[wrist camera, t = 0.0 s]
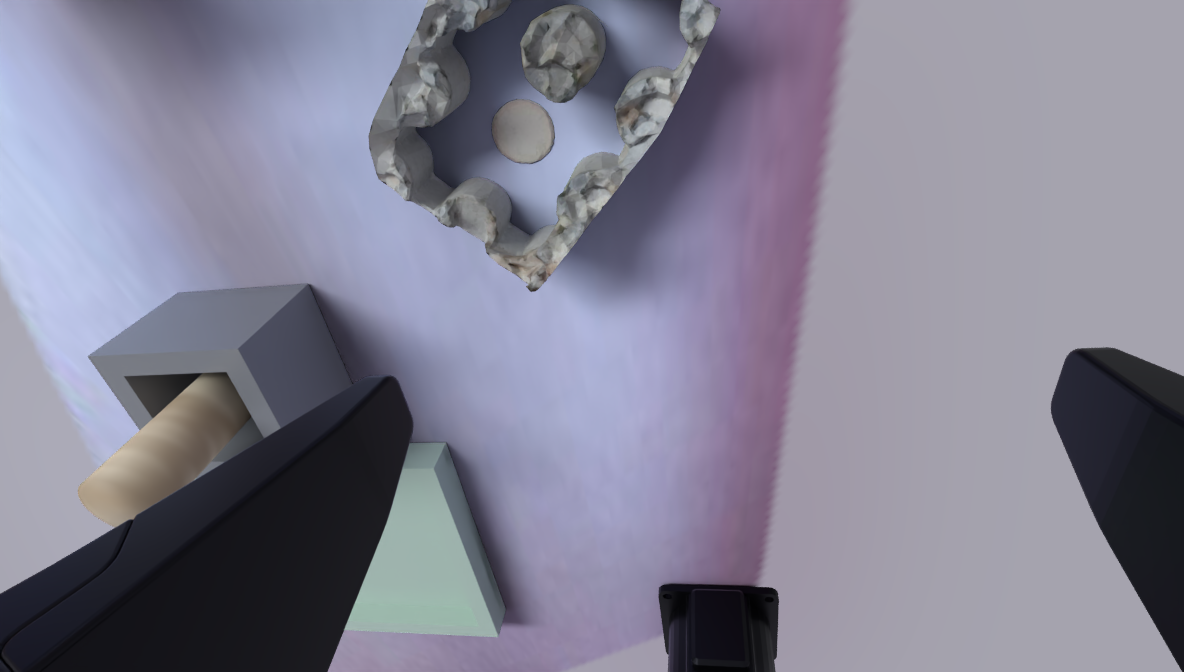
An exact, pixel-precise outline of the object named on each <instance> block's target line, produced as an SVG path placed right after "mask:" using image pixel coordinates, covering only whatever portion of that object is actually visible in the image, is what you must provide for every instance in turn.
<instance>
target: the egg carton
mask: <svg viewBox="0 0 1184 672" xmlns="http://www.w3.org/2000/svg"><path fill="white" fill-rule="evenodd" d="M511 2H512V0H428V2H427V4H426V6H425V9H424V11H423V14H422V17H421V19H420V22H419V24H418V27H417V29H416V31H415V33H414V35H413V37H412V39H411V41H410V43H409V45H408V47H407V49H406V51H405V54H404V56H403V59H402V61H401V64H400V67H399V69H398V70H397V72H396V74H395V76H394V78H393V79H392V81H391V83H390V85H389V87H388V90H387V92H386V94H385V96H384V98H383V100H382V102H381V104H380V106H379V108H378V110H377V113H376V115H375V117H374V119H373V122H372V126H371V129H370V133H369V148H370V152H371V156H372V159H373V163H374V166H375V170H376V173H377V176H378V178H379V180H381V181H382V182H383V183H385V184H386V185H387V186H389V187H391V188H392V189H393V190H394V191H396V192H397V193H398V194H399V195H400V196H401V197H402V198H403V199H404V200H406V201H412V202H414V203H416V204H418V205H420V206H421V207H423V208H424V209H426V210H428V211H429V212H431V213H432V214H433V215H434V216H435V217H437V219H438V221H439V222H440V223H442V224H443V225H445V226H447V227H455V226H459V227H461V228H462V229H464V230H465V231H467V232H468V233H470V234H471V235H473V236H475V237H476V238H478V239H480V240H481V241H483V242H485V248H486V253H487V254H488V255H489V256H490V257H491V258H492V259H493V260H494V261H495V262H496V263H498V264H499V265H500V266H502V267H504V268H505V269H507V270H508V271H510V272H512V273H514V274H516V275H517V276H518V277H519V278H521V279H522V280H523V281H524V282H526V283H527V284H529V285H528V286H526V287H527V288H528V289H529V290H530V291H531V292H532V291H536V290H538V289H539V288H540V287H541V286H542V284H543V283H544V282H545V281H546V280H547V278H548V277H549V276H550V275H551V274H552V272H553V271H554V270H555V269H556V267H557V266H558V265H559V263H560V262H561V261H562V259H563V258H564V257H565V256H566V255H567V253H568V252H569V251H570V250H571V248H572V247H573V246H574V244H575V243H576V242H577V241H578V239H579V238H580V236H581V235H582V234H583V232H584V231H585V230H586V228H587V227H588V225H589V224H590V223H591V221H592V220H593V219H594V218H595V216H596V215H597V214H598V213H599V212H600V210H601V209H602V208H603V206H604V205H605V204H606V203H607V201H608V200H609V199H610V198H611V196H612V195H613V194H614V193H615V191H616V190H617V189H618V188H619V186H620V185H621V184H622V182H623V180H624V179H625V177H626V176H627V175H628V174H629V172H630V171H631V170H632V169H633V168H634V166H635V165H636V164H637V163H638V162H639V160H640V159H641V158H642V156H643V155H644V154H645V152H646V151H647V150H648V149H649V147H650V146H651V145H652V143H653V142H654V141H655V139H656V138H657V137H658V135H659V134H660V133H661V131H662V129H663V127H664V125H665V123H666V121H667V119H668V117H669V115H670V113H671V112H672V110H673V108H674V106H675V104H676V102H677V100H678V98H679V96H680V94H681V92H682V90H683V88H684V86H685V84H686V82H687V80H688V78H689V76H690V74H691V72H692V69H693V67H694V65H695V63H696V61H697V60H698V58H699V56H700V54H701V52H702V50H703V48H704V47H705V45H706V43H707V41H708V37H709V34H710V33H711V31H712V29H713V26H714V24H715V22H716V20H717V18H718V16H719V14H720V8H718V7H715V6H714V5H712V4H711V3H710V2H709V1H708V0H682V1H681V7H680V13H679V17H680V31H681V33H682V35H683V37H684V39H685V40H686V42H687V43H688V45H689V46H688V48H687V51H686V53H685V56H684V58H683V60H682V62H681V63H680V64H679V65H678V67H677V68H676V69H675V70H671V69H669V68H665V67H662V66H659V67H649V68H646V69H642V70H640V71H639V72H638V73H637V74H635V75H634V76H633V77H632V78H631V79H630V80H629V81H628V83H627V85H626V86H625V88H624V90H623V92H622V94H621V97H620V98H619V99H618V101H617V103H616V105H615V107H614V109H615V112H616V123H617V127H618V131H619V134H620V136H621V138H622V139H623V141H624V142H625V145H624V148H623V150H622V152H621V153H620V155H619V156H618V155H615V154H613V153H607V152H599V153H594V154H591V155H589V156H587V157H585V158H583V159H582V160H581V161H580V162H579V163H578V164H577V166H576V167H575V169H574V171H573V173H572V175H571V177H570V179H569V181H568V183H567V185H566V187H565V188H564V192H563V193H561V194H560V195H559V196H558V198H557V211H556V213H557V216H558V219H559V221H558V222H557V224H556V225H548V226H545V227H543V228H541V229H540V230H538V231H536V232H535V233H534V234H533V235H528V234H526V233H525V232H523V231H522V230H520V229H519V228H517V227H516V226H514V225H513V224H512V223H510V218H511V212H512V205H511V201H510V199H509V197H508V194H507V193H506V191H505V190H504V189H503V188H502V187H501V186H500V185H498V184H497V183H495V182H494V181H491V180H489V179H485V178H480V177H474V178H470V179H467V180H465V181H464V182H462V183H461V184H460V185H459V186H458V187H457V188H456V189H455V188H451V187H449V186H448V185H447V184H446V183H445V182H443V181H442V180H440V179H439V178H438V177H436V176H435V174H434V172H433V163H434V161H433V156H432V152H431V149H430V147H429V146H428V144H427V143H426V141H425V140H424V139H423V138H422V137H420V136H419V134H418V133H417V132H416V130H415V129H416V127H423V128H424V127H428V126H431V127H433V126H434V125H435V124H437V123H438V122H440V121H441V120H442V119H444V118H445V117H446V116H448V115H449V114H450V113H452V112H453V111H454V110H455V109H456V108H458V107H459V106H460V105H461V104H462V103H463V102H464V101H465V100H466V99H467V96H468V93H469V91H470V80H471V78H470V74H469V69H468V67H467V65H466V62H465V60H464V58H463V57H462V56H461V55H460V53H459V52H458V51H457V50H456V48H455V47H454V46H453V39H454V36H455V34H456V32H457V30H464V31H465V32H471V31H474V30H476V29H477V28H479V27H480V26H481V25H482V24H483V23H486V22H489V21H490V20H493V19H495V18H498V17H499V16H501V15H502V14H503V13H504V12H505V11H506V10H507V8H508V7H509V6H510V4H511ZM598 19H599V18H598ZM598 19H597V17H596V16H595V15H594V13H593V12H592V11H590V10H588V9H587V8H585V7H583V6H578V5H573V4H566V5H562V6H558V7H555V8H553V9H551V10H549V11H547V12H545V13H543V14H541V15H540V16H538V17H537V18H535V19H534V20H532V21H531V22H530V24H529V27H528V29H527V31H526V33H525V34H524V36H523V38H522V40H521V42H520V46H521V55H522V65H523V69H524V74H525V77H526V78H527V80H528V81H529V83H530V84H531V85H532V86H533V87H534V88H535V89H536V90H538V91H539V92H540V93H542V94H543V95H544V96H546V98H547V99H548V100H550V101H553V102H555V103H565V102H567V101H569V100H571V99H572V98H573V97H574V96H575V95H576V94H577V92H578V90H580V89H581V88H582V87H584V86H585V85H586V84H588V83H589V81H590V80H591V79H592V77H593V76H594V75H595V73H596V71H597V69H598V68H599V66H600V64H601V62H602V60H603V57H604V54H605V50H606V37H605V32H604V29H603V27H602V25H601V23H600V22H599V20H600V19H599V20H598ZM600 21H601V20H600ZM601 22H602V21H601ZM606 26H607V25H606ZM492 135H493V138H494V141H495V143H496V146H497V148H498V149H499V151H500V152H501V153H502V154H503V155H504V156H506V157H507V158H508V159H510V160H512V161H514V162H516V163H520V162H521V163H534V162H536V161H539V160H541V159H543V158H544V157H545V156H546V155H547V154H548V153H549V152H550V150H551V145H552V144H553V140H554V138H555V136H554V126H553V123H552V120H551V118H550V116H549V115H548V113H547V111H546V110H545V109H544V108H543V107H542V106H541V105H539V104H537V103H535V102H533V101H531V100H524V99H516V100H513V101H510V102H507V103H506V104H505V105H504V106H502V107H501V108H500V109H499V110H498V112H497V113H496V114H495V116H494V118H493V122H492Z"/></svg>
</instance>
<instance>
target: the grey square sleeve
mask: <svg viewBox="0 0 1184 672" xmlns="http://www.w3.org/2000/svg"><path fill="white" fill-rule="evenodd" d="M88 358H89V359H90V360H91V362H92V363H93V365H94V366H95V367H96V369H97V370H98V372H99V373H100V375H101V376H102V377H103V379H104V380H105V382H106V383H107V384H108V386H109V387H110V389H111V390H112V392H113V393H114V394H115V396H116V397H117V399H118V400H119V401H120V403H121V404H122V406H123V407H124V409H125V410H126V411H127V413H128V414H129V416H130V417H131V418H132V420H133V421H134V423H135V424H136V426H137V427H138V428H139V430H141V429H142V428H143V427H144V426H145V425H146V424H148V423H149V422H150V421H151V420H152V419H153V418H154V417H155V416H156V415H157V414H159V413H160V412H161V411H162V410H163V409H164V408H165V407H166V406H167V405H168V404H170V403H171V402H172V401H173V400H174V399H175V398H176V397H177V396H178V395H179V394H181V393H182V392H183V391H184V390H185V389H186V388H187V387H188V386H189V385H191V384H192V383H193V382H194V381H195V380H196V379H197V378H198V377H199V376H200V375H202V374H203V373H213V372H227V374H228V376H229V377H230V379H231V381H232V383H233V384H234V386H235V388H236V390H237V391H238V393H239V395H240V397H241V399H242V400H243V402H244V404H245V406H246V407H247V409H248V411H249V413H250V414H251V416H252V417H251V418H250V419H249V420H248V421H247V422H246V423H245V424H244V426H243V427H242V428H241V429H240V430H239V431H238V432H237V433H236V434H235V435H234V437H233V438H232V439H231V440H230V441H229V442H228V443H227V444H226V445H225V447H224V448H223V449H222V450H221V451H220V452H219V453H218V454H217V455H216V457H215V458H214V459H213V460H212V461H211V462H210V463H209V464H208V465H207V466H206V468H205V469H204V470H203V471H202V472H201V473H200V474H199V475H198V476H197V478H199V477H200V476H202V475H204V474H205V473H207V472H209V471H210V470H212V469H214V468H215V467H217V466H219V465H220V464H222V463H224V462H225V461H227V460H229V459H230V458H232V457H233V456H235V455H237V454H238V453H240V452H242V451H243V450H245V449H247V448H248V447H250V446H252V445H253V444H255V443H257V442H258V441H260V440H262V439H263V438H265V437H267V436H268V435H270V434H272V433H273V432H275V431H277V430H278V429H280V428H282V427H283V426H285V425H287V424H288V423H290V422H292V421H293V420H295V419H297V418H298V417H300V416H302V415H303V414H305V413H307V412H308V411H310V410H312V409H313V408H315V407H316V406H318V405H320V404H321V403H323V402H325V401H326V400H328V399H330V398H331V397H333V396H335V395H336V394H338V393H340V392H341V391H343V390H345V389H346V388H348V387H350V386H351V385H352V382H351V380H350V378H349V375H348V373H347V371H346V369H345V366H344V364H343V362H342V359H341V357H340V355H339V353H338V350H337V348H336V346H335V343H334V341H333V339H332V337H331V334H330V332H329V330H328V327H327V325H326V323H325V321H324V318H323V316H322V314H321V311H320V309H319V307H318V305H317V302H316V300H315V298H314V295H313V293H312V291H311V289H310V286H309V284H297V285H283V286H268V287H254V288H240V289H226V290H212V291H197V292H183V293H177V294H175V295H174V296H172V297H171V298H170V299H168V300H167V301H165V302H164V303H163V304H161V305H160V306H158V307H157V308H155V309H154V310H153V311H151V312H150V313H148V314H147V315H146V316H144V317H143V318H141V319H140V320H138V321H137V322H136V323H134V324H133V325H131V326H130V327H128V328H127V329H126V330H124V331H123V332H121V333H120V334H119V335H117V336H116V337H114V338H113V339H111V340H110V341H109V342H107V343H106V344H104V345H103V346H102V347H100V348H99V349H97V350H96V351H94V352H93V353H92V354H90V355H89V356H88ZM197 478H196V479H197Z"/></svg>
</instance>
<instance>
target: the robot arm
mask: <svg viewBox="0 0 1184 672" xmlns="http://www.w3.org/2000/svg"><path fill="white" fill-rule="evenodd" d="M1051 414H1052V418H1053V421H1054V424H1055V426H1056V428H1057V431H1058V433H1059V435H1060V438H1061V440H1062V442H1063V445H1064V447H1065V449H1066V452H1067V454H1068V456H1069V459H1070V461H1071V463H1072V466H1073V468H1074V470H1075V473H1076V475H1077V477H1078V480H1079V482H1080V484H1081V487H1082V489H1083V491H1084V494H1085V496H1086V498H1087V501H1088V503H1089V505H1090V508H1091V510H1092V512H1093V514H1094V516H1095V518H1096V521H1097V522H1098V525H1099V527H1100V529H1101V530H1102V532H1103V534H1104V536H1105V538H1106V540H1107V542H1108V543H1109V545H1110V547H1111V549H1112V550H1113V552H1114V554H1115V556H1116V557H1117V559H1118V561H1119V563H1120V564H1121V566H1122V568H1123V570H1124V571H1125V573H1126V575H1127V577H1128V578H1129V580H1130V582H1131V584H1132V585H1133V587H1134V589H1135V591H1136V592H1137V594H1138V596H1139V597H1140V599H1141V601H1142V603H1143V604H1144V606H1145V608H1146V610H1147V611H1148V613H1149V615H1150V617H1151V618H1152V620H1153V622H1154V623H1155V625H1156V627H1157V629H1158V630H1159V632H1160V634H1161V636H1162V637H1163V639H1164V641H1165V643H1166V644H1167V646H1168V648H1169V649H1170V651H1171V653H1172V655H1173V657H1174V658H1175V660H1176V662H1177V663H1178V665H1179V667H1180V669H1181V670H1182V672H1184V376H1182V375H1179V374H1177V373H1175V372H1172V371H1170V370H1167V369H1165V368H1162V367H1160V366H1157V365H1155V364H1152V363H1150V362H1147V361H1145V360H1143V359H1140V358H1138V357H1135V356H1133V355H1130V354H1128V353H1125V352H1123V351H1120V350H1118V349H1115V348H1108V347H1106V348H1081V349H1075V350H1073V351H1072V352H1070V353H1069V355H1068V356H1067V357H1066V359H1065V362H1064V365H1063V368H1062V371H1061V374H1060V377H1059V380H1058V383H1057V386H1056V389H1055V392H1054V395H1053V398H1052V402H1051ZM412 433H413V418H412V415H411V412H410V410H409V407H408V404H407V402H406V399H405V397H404V394H403V392H402V389H401V386H400V384H399V382H398V380H397V379H396V378H395V377H393V376H391V375H381V376H368V377H365V378H363V379H361V380H360V381H358V382H356V383H355V384H353V385H351V386H350V387H348V388H346V389H345V390H343V391H341V392H340V393H338V394H336V395H335V396H333V397H331V398H330V399H328V400H326V401H325V402H323V403H321V404H320V405H318V406H316V407H315V408H313V409H312V410H310V411H308V412H307V413H305V414H303V415H302V416H300V417H298V418H297V419H295V420H293V421H292V422H290V423H288V424H287V425H285V426H283V427H282V428H280V429H278V430H277V431H275V432H273V433H272V434H270V435H268V436H267V437H265V438H263V439H262V440H260V441H258V442H257V443H255V444H253V445H252V446H250V447H248V448H247V449H245V450H243V451H242V452H240V453H238V454H237V455H235V456H233V457H232V458H230V459H229V460H227V461H225V462H224V463H222V464H220V465H219V466H217V467H215V468H214V469H212V470H210V471H209V472H207V473H205V474H204V475H202V476H200V477H199V478H197V479H195V480H194V481H192V482H190V483H189V484H187V485H185V486H184V487H182V488H180V489H179V490H177V491H175V492H174V493H172V494H170V495H169V496H167V497H165V498H164V499H162V500H160V501H159V502H157V503H155V504H154V505H152V506H151V507H149V508H147V509H146V510H144V511H142V512H141V513H139V514H137V515H136V516H135V518H134V520H133V519H129V520H127V521H125V522H124V523H122V524H120V525H119V526H117V527H115V528H114V529H112V530H110V531H109V532H107V533H106V534H104V535H102V536H101V537H99V538H97V539H95V540H94V541H92V542H90V543H89V544H87V545H85V546H84V547H82V548H80V549H78V550H77V551H75V552H73V553H72V554H70V555H68V556H66V557H65V558H63V559H61V560H60V561H58V562H56V563H55V564H53V565H51V566H49V567H47V568H46V569H44V570H42V571H40V572H38V573H37V574H35V575H33V576H31V577H29V578H28V579H26V580H24V581H22V582H21V583H19V584H17V585H15V586H13V587H12V588H10V589H8V590H6V591H4V592H3V593H1V594H0V672H328V669H329V667H330V664H331V662H332V659H333V657H334V654H335V652H336V649H337V647H338V644H339V642H340V639H341V637H342V634H343V632H344V629H345V627H346V624H347V622H348V619H349V617H350V614H351V612H352V609H353V607H354V604H355V602H356V599H357V597H358V594H359V592H360V589H361V587H362V584H363V582H364V579H365V577H366V574H367V572H368V569H369V567H370V564H371V562H372V559H373V557H374V554H375V552H376V549H377V547H378V544H379V542H380V539H381V537H382V534H383V531H384V529H385V526H386V523H387V521H388V517H389V514H390V511H391V508H392V505H393V501H394V498H395V494H396V490H397V487H398V483H399V480H400V476H401V472H402V469H403V465H404V462H405V458H406V455H407V451H408V447H409V444H410V440H411V437H412ZM659 603H660V610H661V618H662V625H663V633H664V640H665V647H666V652H667V654H669V657H668V658H669V659H668V672H775V664H774V659H776V657H777V632H778V605H779V604H778V603H779V599H778V593H777V591H776V590H775V589H773V588H769V587H734V586H698V585H662V586H661V587H660V588H659Z"/></svg>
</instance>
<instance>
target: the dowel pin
mask: <svg viewBox="0 0 1184 672" xmlns="http://www.w3.org/2000/svg"><path fill="white" fill-rule="evenodd" d="M251 417H252V416H251V414H250V413H249V411H248V409H247V407H246V406H245V404H244V402H243V400H242V399H241V397H240V395H239V393H238V391H237V390H236V388H235V386H234V384H233V383H232V381H231V379H230V377H229V376H228V374H227V372H213V373H203V374H202V375H200V376H199V377H198V378H197V379H196V380H195V381H194V382H193V383H192V384H191V385H189V386H188V387H187V388H186V389H185V390H184V391H183V392H182V393H181V394H179V395H178V396H177V397H176V398H175V399H174V400H173V401H172V402H171V403H170V404H168V405H167V406H166V407H165V408H164V409H163V410H162V411H161V412H160V413H159V414H157V415H156V416H155V417H154V418H153V419H152V420H151V421H150V422H149V423H148V424H146V425H145V426H144V427H143V428H142V429H141V430H140V431H139V432H138V433H136V434H135V435H134V436H133V437H132V438H131V439H130V440H129V441H128V442H127V443H125V444H124V445H123V446H122V447H121V448H120V449H119V450H118V451H117V452H116V453H114V454H113V455H112V456H111V457H110V458H109V459H108V460H107V461H106V462H105V463H103V464H102V465H101V466H100V467H99V468H98V469H97V470H96V471H95V472H93V473H92V474H91V475H90V476H89V477H88V478H87V479H86V480H85V481H84V482H82V483H81V484H80V486H79V488H78V496H79V498H80V500H81V502H82V504H83V505H84V506H85V507H86V508H87V509H88V510H89V511H90V512H91V513H92V514H93V515H94V516H96V517H97V518H98V519H100V520H102V521H103V522H105V523H107V524H109V525H111V526H113V527H117V526H119V525H120V524H122V523H124V522H125V521H127V520H129V519H133V520H134V518H135V516H136V515H137V514H139V513H141V512H142V511H144V510H146V509H147V508H149V507H151V506H152V505H154V504H155V503H157V502H159V501H160V500H162V499H164V498H165V497H167V496H169V495H170V494H172V493H174V492H175V491H177V490H179V489H180V488H182V487H184V486H185V485H187V484H189V483H190V482H192V481H194V480H195V479H196V478H197V476H198V475H199V474H200V473H201V472H202V471H203V470H204V469H205V468H206V466H207V465H208V464H209V463H210V462H211V461H212V460H213V459H214V458H215V457H216V455H217V454H218V453H219V452H220V451H221V450H222V449H223V448H224V447H225V445H226V444H227V443H228V442H229V441H230V440H231V439H232V438H233V437H234V435H235V434H236V433H237V432H238V431H239V430H240V429H241V428H242V427H243V426H244V424H245V423H246V422H247V421H248V420H249V419H250V418H251Z"/></svg>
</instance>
